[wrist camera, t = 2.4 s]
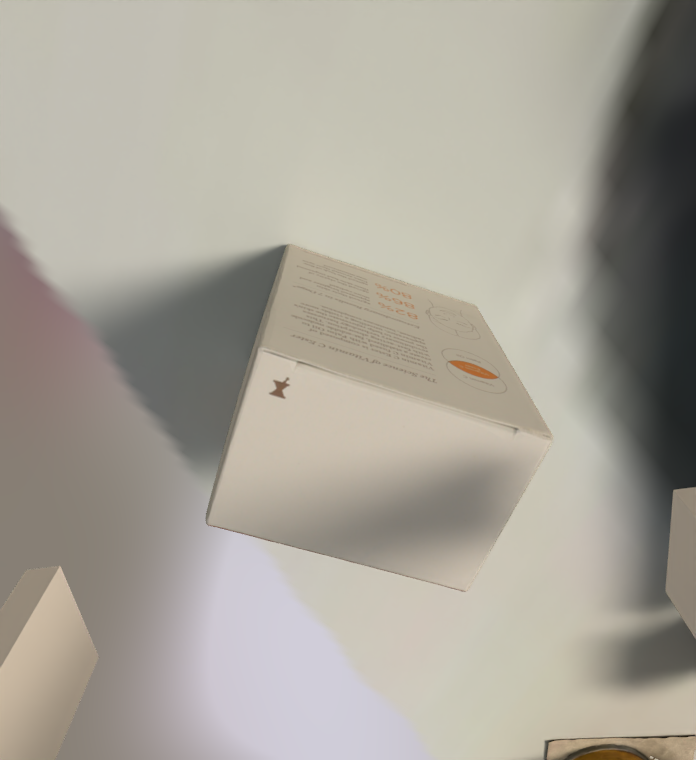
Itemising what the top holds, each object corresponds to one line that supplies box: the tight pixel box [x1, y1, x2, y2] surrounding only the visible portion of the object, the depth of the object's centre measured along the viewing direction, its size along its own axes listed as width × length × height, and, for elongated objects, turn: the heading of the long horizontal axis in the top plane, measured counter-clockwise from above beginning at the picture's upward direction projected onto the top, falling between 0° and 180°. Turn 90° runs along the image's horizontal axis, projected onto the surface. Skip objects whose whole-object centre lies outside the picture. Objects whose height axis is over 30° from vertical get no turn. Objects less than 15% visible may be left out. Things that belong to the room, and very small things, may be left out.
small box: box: [206, 244, 553, 592], centre depth 21 cm, size 8×6×10 cm
